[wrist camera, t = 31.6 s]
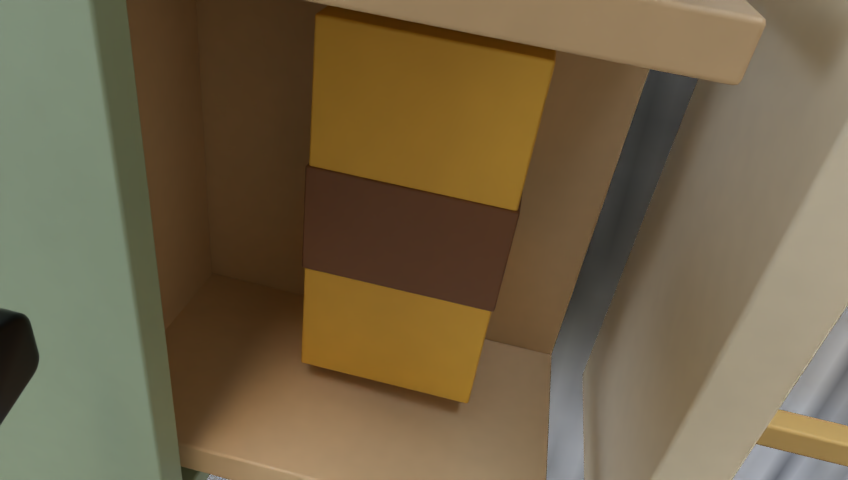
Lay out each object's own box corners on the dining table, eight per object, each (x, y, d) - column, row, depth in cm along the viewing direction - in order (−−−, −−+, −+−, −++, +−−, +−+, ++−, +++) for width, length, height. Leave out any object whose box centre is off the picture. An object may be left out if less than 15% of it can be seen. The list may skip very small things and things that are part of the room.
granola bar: (562, 16, 13) (559, 62, 10) (485, 320, 17) (469, 407, 14) (362, -22, 13) (309, 13, 10) (338, 285, 17) (297, 363, 15)
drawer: (1143, -18, 11) (1686, 122, 6) (815, 430, 18) (922, 694, 13) (176, -186, 13) (-123, -204, 7) (206, 283, 20) (62, 458, 14)
